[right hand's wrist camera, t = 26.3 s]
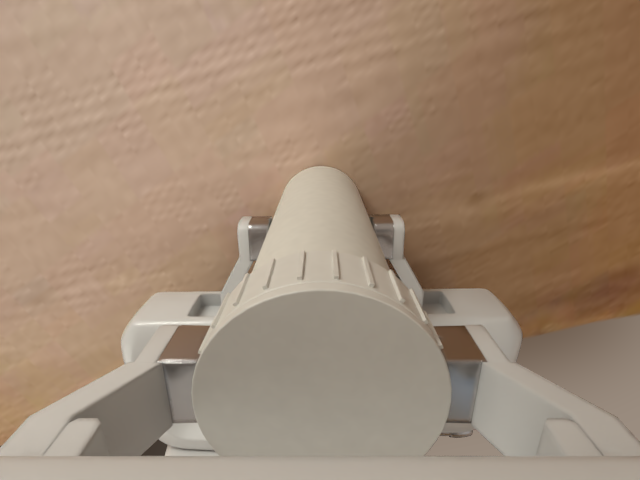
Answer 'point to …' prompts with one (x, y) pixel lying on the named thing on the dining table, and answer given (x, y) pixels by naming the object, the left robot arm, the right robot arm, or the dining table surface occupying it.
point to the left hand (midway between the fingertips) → (319, 218)
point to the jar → (321, 219)
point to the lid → (321, 363)
